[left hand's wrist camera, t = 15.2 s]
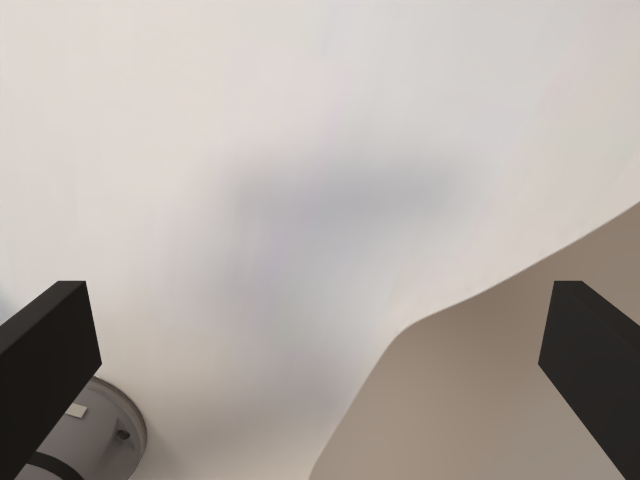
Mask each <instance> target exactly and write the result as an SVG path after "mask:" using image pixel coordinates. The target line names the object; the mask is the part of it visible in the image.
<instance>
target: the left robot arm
mask: <svg viewBox="0 0 640 480" xmlns="http://www.w3.org/2000/svg"><path fill="white" fill-rule="evenodd" d="M101 365H102V361H101V356H100V351H99V346H98V341H97V336H96V331H95V326H94V321H93V316H92V311H91V306H90V301H89V296H88V291H87V286H86V281H57V282H56V283H55V284H54V285H52V286H51V287H50V288H48V289H47V290H46V291H45V292H43V293H42V294H41V295H39V296H38V297H37V298H36V299H34V300H33V301H32V302H30V303H29V304H28V305H27V306H25V307H24V308H23V309H21V310H20V311H19V312H18V313H16V314H15V315H14V316H13V317H11V318H10V319H9V320H7V321H6V322H5V323H4V324H2V325H1V326H0V480H127V479H128V478H129V477H130V476H131V474H132V473H133V472H134V471H135V469H136V467H137V465H138V463H139V461H140V459H141V457H142V455H143V453H144V450H145V446H146V429H145V425H144V421H143V419H142V417H141V415H140V413H139V411H138V410H137V408H136V407H135V406H134V404H133V403H132V402H131V401H130V400H129V399H128V398H127V397H126V396H125V395H124V394H122V393H121V392H120V391H118V390H117V389H116V388H114V387H112V386H111V385H109V384H107V383H105V382H103V381H101V380H98V379H96V378H93V375H94V374H95V373H96V371H97V370H98V369H99V367H100V366H101ZM538 365H539V366H540V367H541V369H542V370H543V371H544V373H545V374H546V375H547V377H548V378H549V379H550V380H551V382H552V383H553V384H554V386H555V387H556V388H557V390H558V391H559V392H560V394H561V395H562V396H563V398H564V399H565V400H566V402H567V403H568V404H569V406H570V407H571V408H572V410H573V411H574V412H575V413H576V415H577V416H578V417H579V419H580V420H581V421H582V423H583V424H584V425H585V427H586V428H587V429H588V431H589V432H590V433H591V435H592V436H593V437H594V439H595V440H596V441H597V442H598V444H599V445H600V446H601V448H602V449H603V450H604V452H605V453H606V454H607V456H608V457H609V458H610V460H611V461H612V462H613V464H614V465H615V466H616V467H617V469H618V470H619V471H620V473H621V474H622V475H623V477H624V478H625V479H626V480H640V326H639V325H638V324H636V323H635V322H634V321H633V320H631V319H630V318H629V317H627V316H626V315H625V314H624V313H622V312H621V311H620V310H619V309H617V308H616V307H615V306H613V305H612V304H611V303H609V302H608V301H607V300H606V299H604V298H603V297H602V296H601V295H599V294H598V293H597V292H595V291H594V290H593V289H592V288H590V287H589V286H588V285H586V284H585V283H584V282H583V281H554V286H553V291H552V296H551V301H550V306H549V311H548V316H547V321H546V326H545V331H544V336H543V341H542V346H541V351H540V356H539V361H538Z"/></svg>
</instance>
